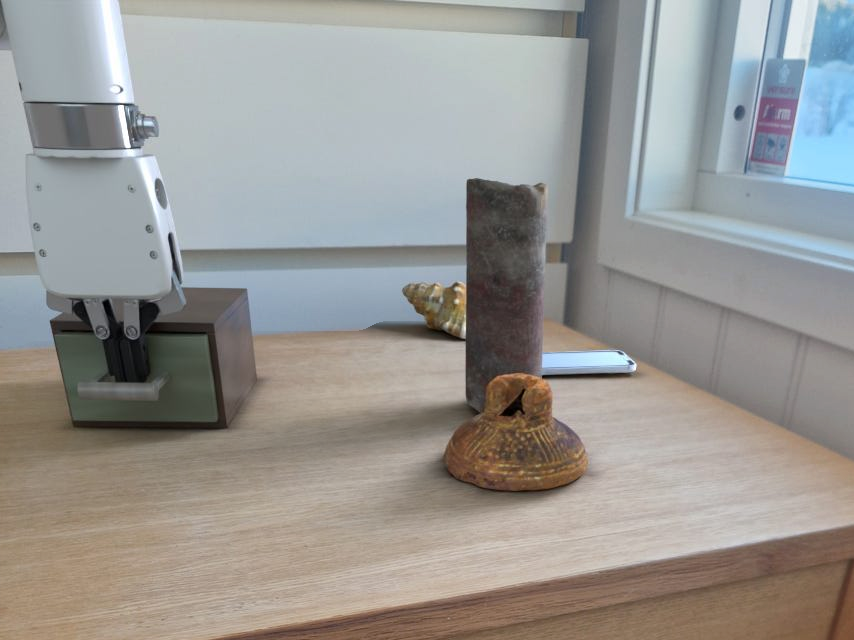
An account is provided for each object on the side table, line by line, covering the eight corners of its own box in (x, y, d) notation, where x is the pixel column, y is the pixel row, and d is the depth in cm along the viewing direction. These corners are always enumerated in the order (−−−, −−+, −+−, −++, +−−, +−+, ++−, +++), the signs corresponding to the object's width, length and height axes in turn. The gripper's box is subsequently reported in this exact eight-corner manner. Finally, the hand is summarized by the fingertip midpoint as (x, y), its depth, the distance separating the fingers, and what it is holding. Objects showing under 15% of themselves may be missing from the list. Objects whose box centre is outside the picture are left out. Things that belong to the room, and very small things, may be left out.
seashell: (425, 365, 111) (390, 288, 108) (439, 360, 118) (406, 288, 115) (491, 333, 108) (457, 253, 105) (501, 330, 115) (469, 255, 113)
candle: (451, 401, 87) (452, 175, 77) (515, 393, 90) (525, 174, 80) (486, 424, 82) (493, 182, 71) (554, 414, 85) (570, 181, 74)
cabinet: (227, 428, 79) (213, 322, 74) (72, 426, 78) (49, 320, 74) (257, 380, 92) (247, 288, 87) (125, 378, 92) (107, 285, 87)
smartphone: (493, 353, 101) (620, 349, 103) (493, 362, 101) (620, 358, 103) (503, 370, 95) (638, 365, 96) (503, 379, 95) (637, 374, 97)
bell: (616, 471, 72) (626, 382, 68) (509, 507, 65) (513, 410, 62) (518, 434, 80) (522, 351, 76) (413, 462, 73) (411, 374, 69)
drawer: (201, 444, 73) (188, 354, 69) (48, 443, 72) (26, 352, 68) (246, 377, 90) (237, 302, 86) (122, 375, 89) (108, 300, 85)
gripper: (200, 133, 68) (231, 373, 77) (2, 129, 67) (58, 371, 77) (176, 137, 61) (212, 398, 71) (-44, 132, 61) (23, 396, 70)
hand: (132, 384), depth 74 cm, fingers closed
